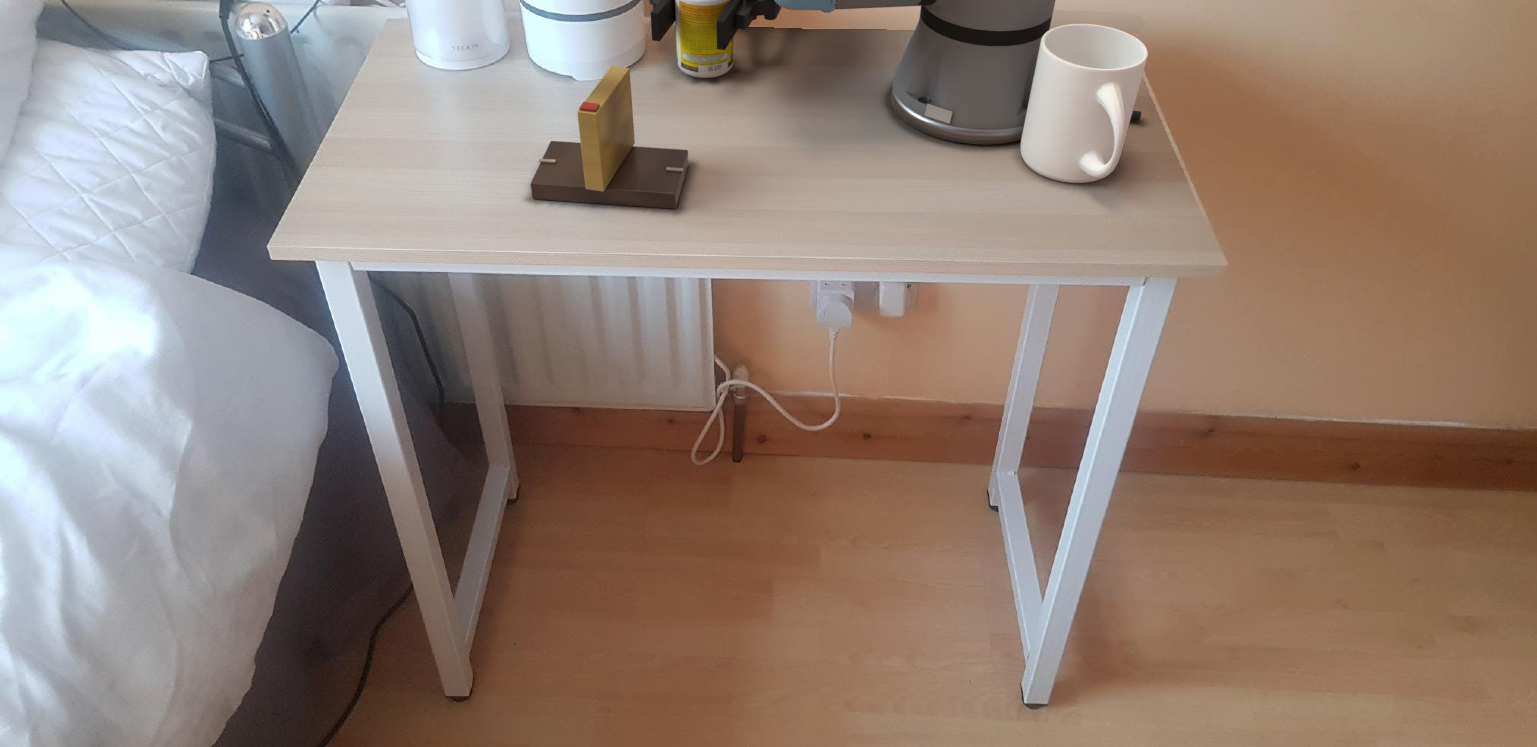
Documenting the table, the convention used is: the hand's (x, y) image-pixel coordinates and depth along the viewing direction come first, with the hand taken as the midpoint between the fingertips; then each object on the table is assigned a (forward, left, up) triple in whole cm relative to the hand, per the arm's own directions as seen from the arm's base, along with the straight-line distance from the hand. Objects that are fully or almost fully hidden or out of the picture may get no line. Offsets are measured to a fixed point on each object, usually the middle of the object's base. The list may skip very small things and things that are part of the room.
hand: (687, 31), depth 99 cm
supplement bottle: (-1, -5, -6) cm, 8 cm away
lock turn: (+4, +16, -5) cm, 18 cm away
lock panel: (+4, +16, -6) cm, 18 cm away
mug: (-35, +9, -6) cm, 37 cm away
